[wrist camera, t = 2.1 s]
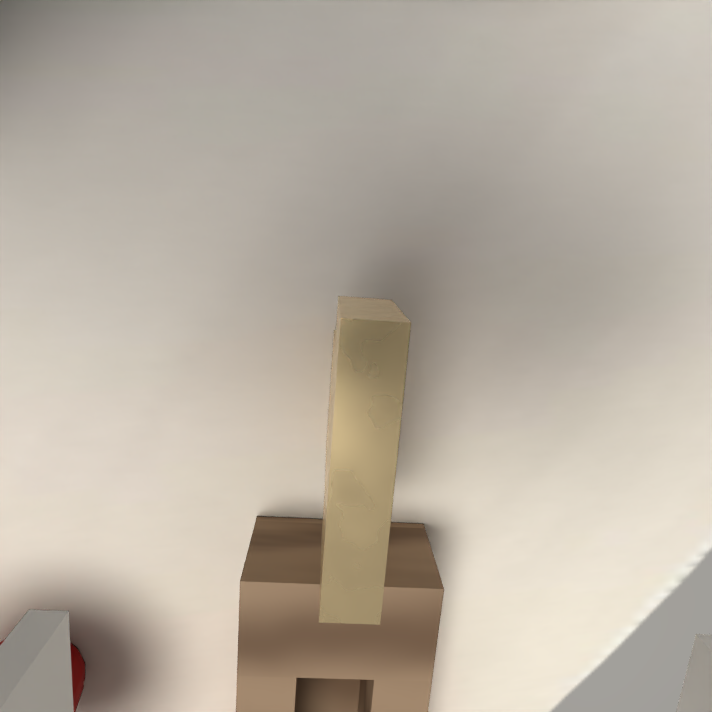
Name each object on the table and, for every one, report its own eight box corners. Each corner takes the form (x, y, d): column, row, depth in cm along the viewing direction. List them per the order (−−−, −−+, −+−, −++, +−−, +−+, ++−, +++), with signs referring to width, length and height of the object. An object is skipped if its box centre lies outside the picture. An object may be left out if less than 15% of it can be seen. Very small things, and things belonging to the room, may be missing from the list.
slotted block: (257, 516, 32) (240, 581, 26) (423, 523, 32) (444, 589, 26) (246, 781, 36) (230, 888, 30) (392, 783, 37) (404, 888, 31)
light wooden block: (337, 284, 29) (340, 317, 18) (381, 287, 29) (411, 322, 18) (323, 488, 31) (318, 622, 21) (363, 490, 31) (380, 624, 21)
